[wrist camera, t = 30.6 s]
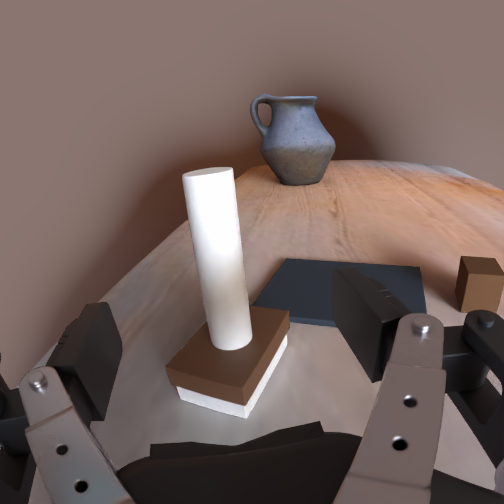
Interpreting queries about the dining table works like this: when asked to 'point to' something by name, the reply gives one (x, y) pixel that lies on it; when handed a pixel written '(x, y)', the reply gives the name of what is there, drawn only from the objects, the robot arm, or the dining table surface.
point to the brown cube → (479, 284)
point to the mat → (320, 288)
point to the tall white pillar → (224, 307)
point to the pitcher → (294, 139)
